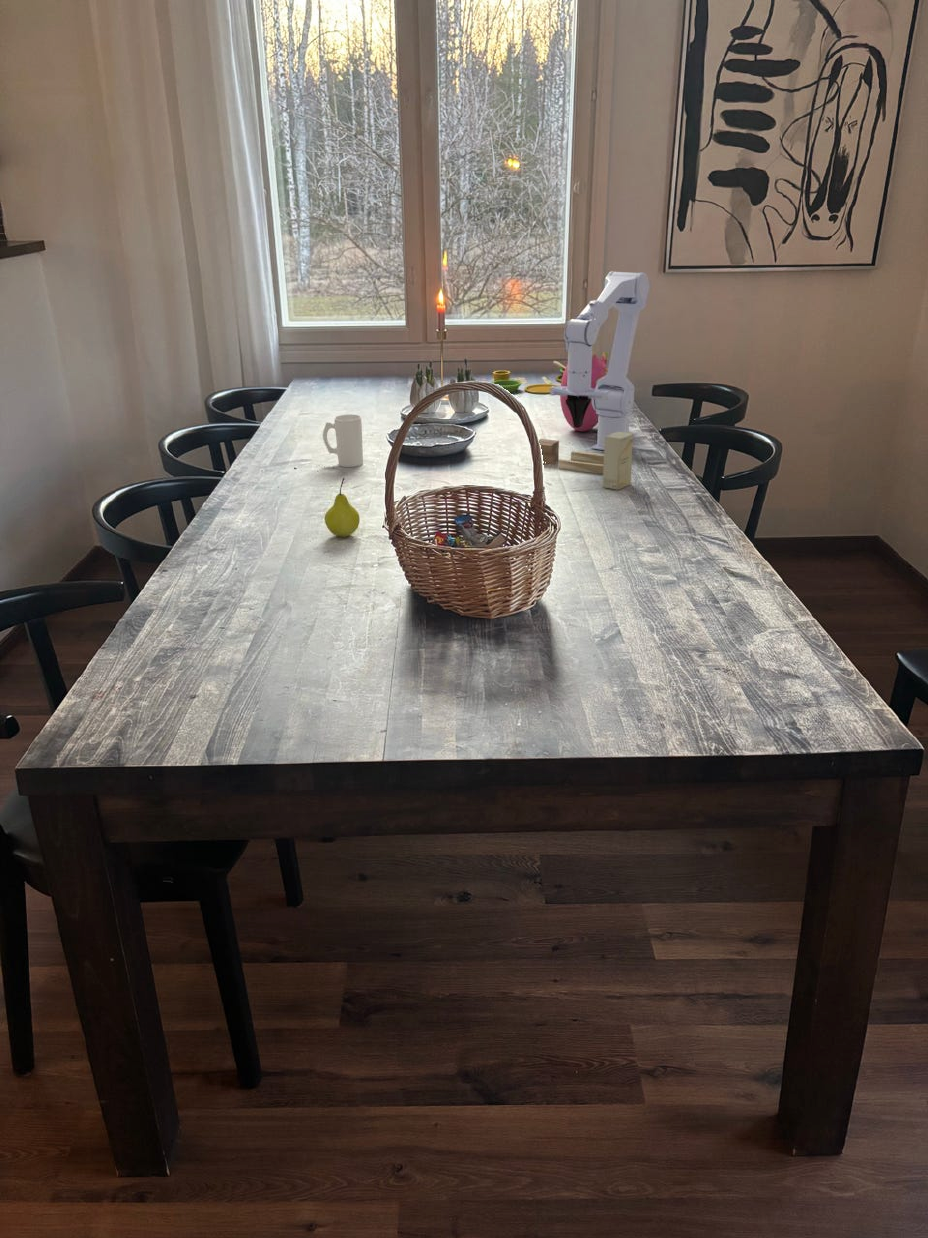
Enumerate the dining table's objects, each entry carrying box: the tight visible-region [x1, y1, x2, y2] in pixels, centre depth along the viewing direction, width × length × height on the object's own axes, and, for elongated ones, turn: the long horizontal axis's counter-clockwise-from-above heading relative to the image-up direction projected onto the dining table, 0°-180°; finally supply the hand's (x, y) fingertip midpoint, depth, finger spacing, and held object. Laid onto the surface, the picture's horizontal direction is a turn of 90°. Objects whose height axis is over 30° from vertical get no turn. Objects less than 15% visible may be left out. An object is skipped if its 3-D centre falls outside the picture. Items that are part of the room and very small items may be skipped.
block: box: [538, 438, 560, 466], centre depth 244 cm, size 5×5×5 cm
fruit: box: [323, 477, 361, 538], centre depth 196 cm, size 7×7×12 cm
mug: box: [322, 413, 364, 468], centre depth 244 cm, size 10×7×12 cm, turn 86°
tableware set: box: [491, 360, 608, 395], centre depth 327 cm, size 41×28×6 cm
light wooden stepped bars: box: [557, 450, 604, 475], centre depth 240 cm, size 9×12×2 cm
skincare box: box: [602, 431, 634, 491], centre depth 223 cm, size 6×4×12 cm
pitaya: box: [559, 344, 611, 432], centre depth 265 cm, size 18×14×30 cm
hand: (577, 426), depth 238 cm, fingers closed
